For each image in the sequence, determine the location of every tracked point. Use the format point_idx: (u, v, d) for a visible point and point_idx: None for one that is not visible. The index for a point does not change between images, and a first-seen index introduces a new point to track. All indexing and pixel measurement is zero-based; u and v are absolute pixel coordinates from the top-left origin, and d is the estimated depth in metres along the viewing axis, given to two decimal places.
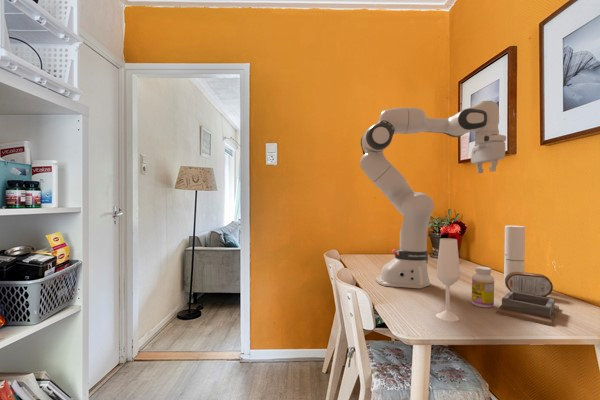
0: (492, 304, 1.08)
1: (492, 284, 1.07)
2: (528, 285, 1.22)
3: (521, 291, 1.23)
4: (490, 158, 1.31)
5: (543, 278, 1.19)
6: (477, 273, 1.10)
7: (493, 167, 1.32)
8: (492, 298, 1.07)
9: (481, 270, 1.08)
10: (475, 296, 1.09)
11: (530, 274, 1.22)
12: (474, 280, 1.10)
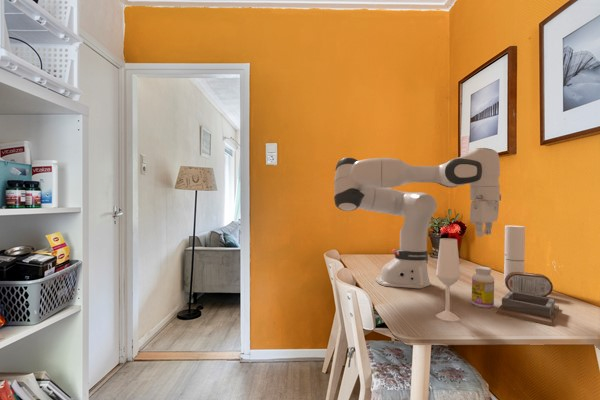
0: (492, 304, 1.08)
1: (492, 284, 1.07)
2: (528, 285, 1.22)
3: (521, 291, 1.23)
4: (494, 220, 1.14)
5: (543, 278, 1.19)
6: (477, 273, 1.10)
7: None
8: (492, 298, 1.07)
9: (481, 270, 1.08)
10: (475, 296, 1.09)
11: (530, 274, 1.22)
12: (474, 280, 1.10)
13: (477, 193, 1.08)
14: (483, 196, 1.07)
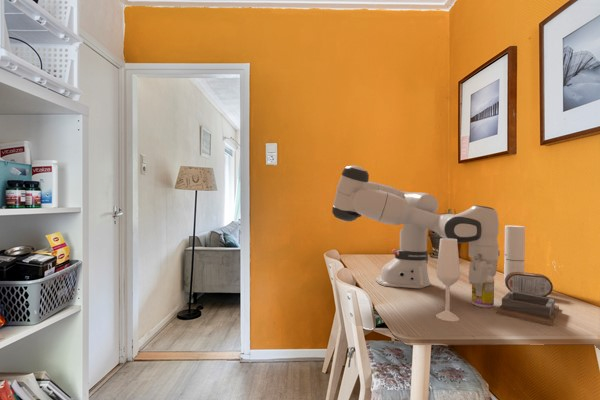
0: (492, 304, 1.08)
1: (492, 284, 1.07)
2: (528, 285, 1.22)
3: (521, 291, 1.23)
4: (493, 275, 1.14)
5: (543, 278, 1.19)
6: None
7: None
8: (492, 298, 1.07)
9: None
10: (475, 295, 1.09)
11: (530, 274, 1.22)
12: None
13: (476, 252, 1.08)
14: (482, 255, 1.06)
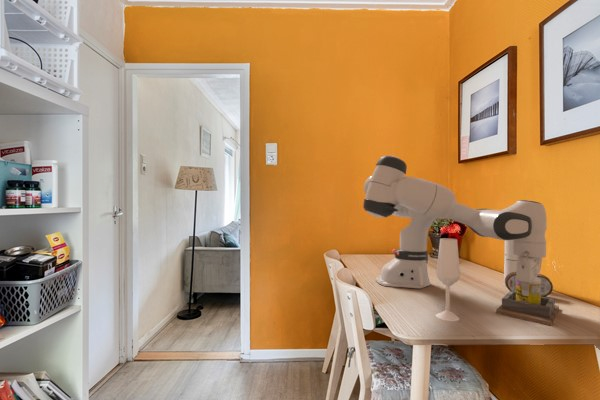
0: None
1: (539, 286, 1.02)
2: None
3: None
4: (538, 274, 1.08)
5: (543, 278, 1.19)
6: None
7: None
8: (539, 301, 1.02)
9: None
10: (520, 298, 1.04)
11: None
12: None
13: (522, 249, 1.02)
14: (529, 253, 1.01)
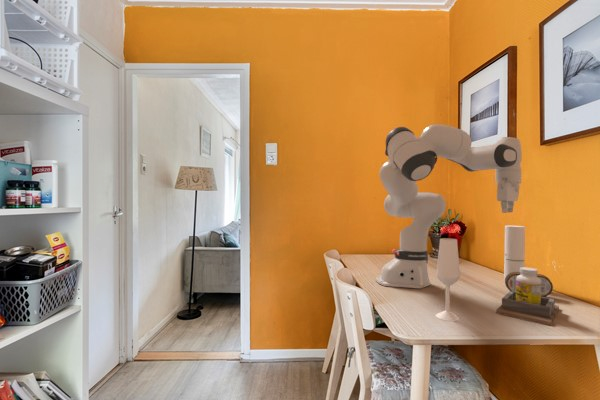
0: None
1: (539, 286, 1.02)
2: None
3: None
4: (516, 199, 1.33)
5: (543, 278, 1.19)
6: (522, 274, 1.04)
7: None
8: (539, 301, 1.02)
9: (527, 271, 1.03)
10: (520, 298, 1.04)
11: None
12: (519, 282, 1.04)
13: (502, 176, 1.27)
14: (507, 178, 1.26)
